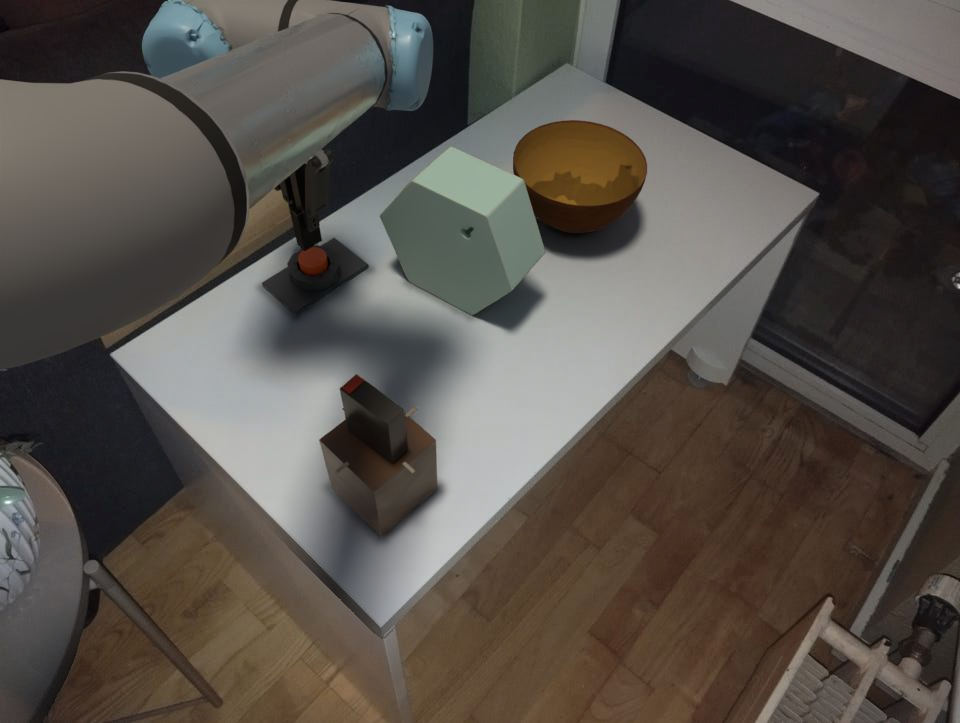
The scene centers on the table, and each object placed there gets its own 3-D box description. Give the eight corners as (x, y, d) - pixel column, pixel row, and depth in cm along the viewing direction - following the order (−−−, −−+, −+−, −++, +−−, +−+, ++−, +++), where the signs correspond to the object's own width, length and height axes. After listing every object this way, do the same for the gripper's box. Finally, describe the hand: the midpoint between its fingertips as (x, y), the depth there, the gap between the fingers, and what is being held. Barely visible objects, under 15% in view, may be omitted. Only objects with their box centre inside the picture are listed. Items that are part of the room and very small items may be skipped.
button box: (296, 315, 96) (292, 302, 94) (262, 286, 99) (258, 272, 97) (368, 267, 102) (367, 254, 100) (334, 241, 104) (332, 227, 102)
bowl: (484, 228, 107) (487, 170, 99) (548, 162, 116) (555, 104, 108) (596, 281, 101) (608, 225, 93) (654, 208, 110) (669, 150, 102)
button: (311, 280, 97) (309, 271, 96) (294, 265, 99) (292, 256, 97) (333, 265, 99) (332, 257, 97) (316, 251, 100) (314, 242, 99)
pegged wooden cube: (380, 552, 78) (372, 506, 70) (316, 488, 82) (302, 438, 74) (452, 488, 82) (452, 439, 74) (388, 430, 86) (382, 378, 78)
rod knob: (408, 449, 74) (404, 407, 68) (392, 464, 72) (387, 423, 67) (363, 415, 76) (356, 371, 70) (347, 429, 75) (338, 386, 69)
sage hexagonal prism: (484, 293, 106) (573, 234, 88) (452, 328, 102) (538, 274, 84) (399, 200, 103) (473, 121, 85) (362, 233, 99) (432, 156, 81)
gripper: (205, 59, 78) (253, 231, 96) (284, 116, 72) (319, 286, 91) (266, 32, 81) (301, 203, 100) (346, 84, 76) (367, 254, 95)
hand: (309, 242), depth 96 cm, fingers closed
